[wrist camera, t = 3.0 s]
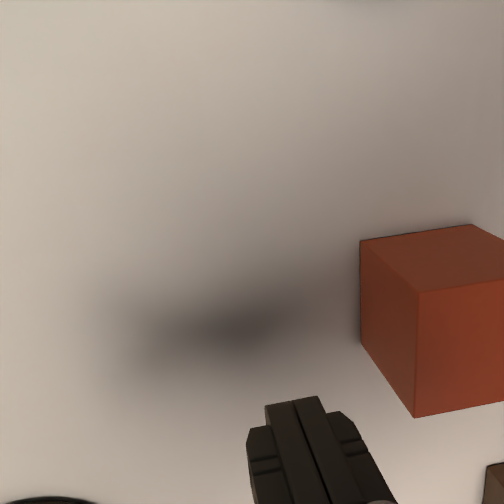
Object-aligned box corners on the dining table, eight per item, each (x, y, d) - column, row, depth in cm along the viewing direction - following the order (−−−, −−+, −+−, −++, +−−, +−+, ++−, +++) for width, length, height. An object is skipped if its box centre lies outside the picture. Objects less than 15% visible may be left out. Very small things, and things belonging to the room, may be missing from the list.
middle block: (359, 240, 19) (418, 293, 15) (472, 223, 20) (563, 268, 15) (360, 344, 21) (413, 420, 17) (464, 325, 22) (543, 394, 17)
